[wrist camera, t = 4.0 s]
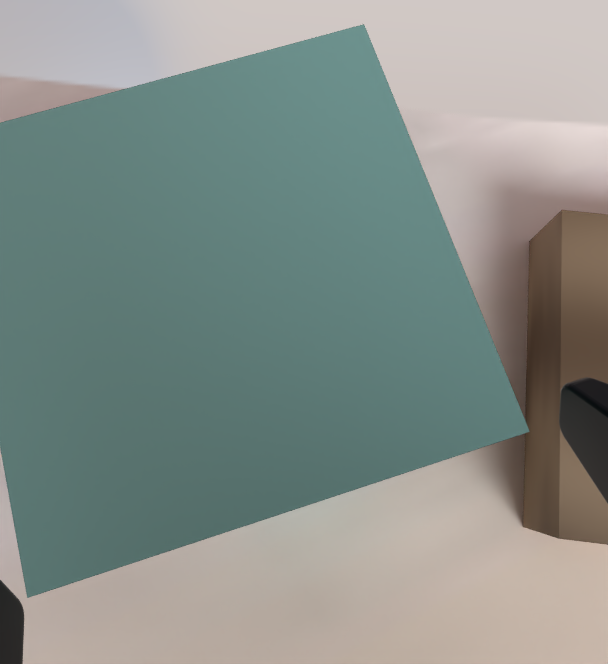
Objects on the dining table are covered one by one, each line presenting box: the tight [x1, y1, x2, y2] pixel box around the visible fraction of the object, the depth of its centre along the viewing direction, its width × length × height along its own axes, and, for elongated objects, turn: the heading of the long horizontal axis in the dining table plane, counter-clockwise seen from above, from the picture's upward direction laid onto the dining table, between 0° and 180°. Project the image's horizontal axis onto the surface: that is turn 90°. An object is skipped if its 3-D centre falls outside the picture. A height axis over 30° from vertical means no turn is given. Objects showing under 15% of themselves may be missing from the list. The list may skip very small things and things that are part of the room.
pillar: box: [0, 25, 530, 598], centre depth 12 cm, size 5×5×13 cm
